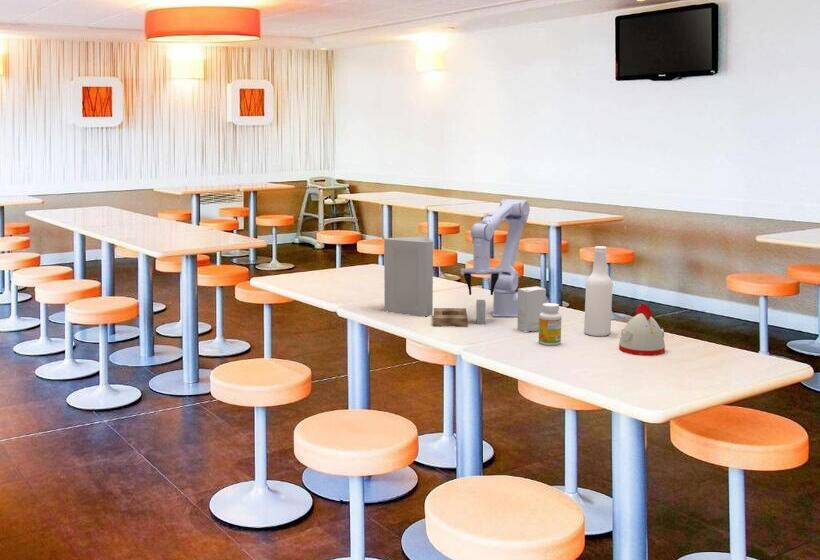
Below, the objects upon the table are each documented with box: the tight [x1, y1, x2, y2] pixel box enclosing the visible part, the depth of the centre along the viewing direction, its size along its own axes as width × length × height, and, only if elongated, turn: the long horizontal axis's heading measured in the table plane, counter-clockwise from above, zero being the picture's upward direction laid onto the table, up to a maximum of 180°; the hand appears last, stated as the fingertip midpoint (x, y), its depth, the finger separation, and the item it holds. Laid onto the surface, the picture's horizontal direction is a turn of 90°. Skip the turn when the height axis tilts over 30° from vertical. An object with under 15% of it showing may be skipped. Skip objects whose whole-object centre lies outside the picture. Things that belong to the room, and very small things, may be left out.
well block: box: [433, 307, 469, 328], centre depth 314 cm, size 12×18×3 cm, turn 178°
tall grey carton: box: [383, 236, 434, 317], centre depth 330 cm, size 19×15×28 cm
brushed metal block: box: [475, 299, 486, 325], centre depth 311 cm, size 3×5×8 cm, turn 178°
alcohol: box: [583, 245, 613, 337], centre depth 293 cm, size 9×9×30 cm
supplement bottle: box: [538, 302, 562, 346], centre depth 281 cm, size 7×7×13 cm
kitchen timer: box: [618, 302, 666, 357], centre depth 272 cm, size 14×14×15 cm
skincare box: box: [517, 285, 547, 333], centre depth 299 cm, size 8×6×15 cm
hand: (480, 294), depth 310 cm, fingers open, 7 cm apart
